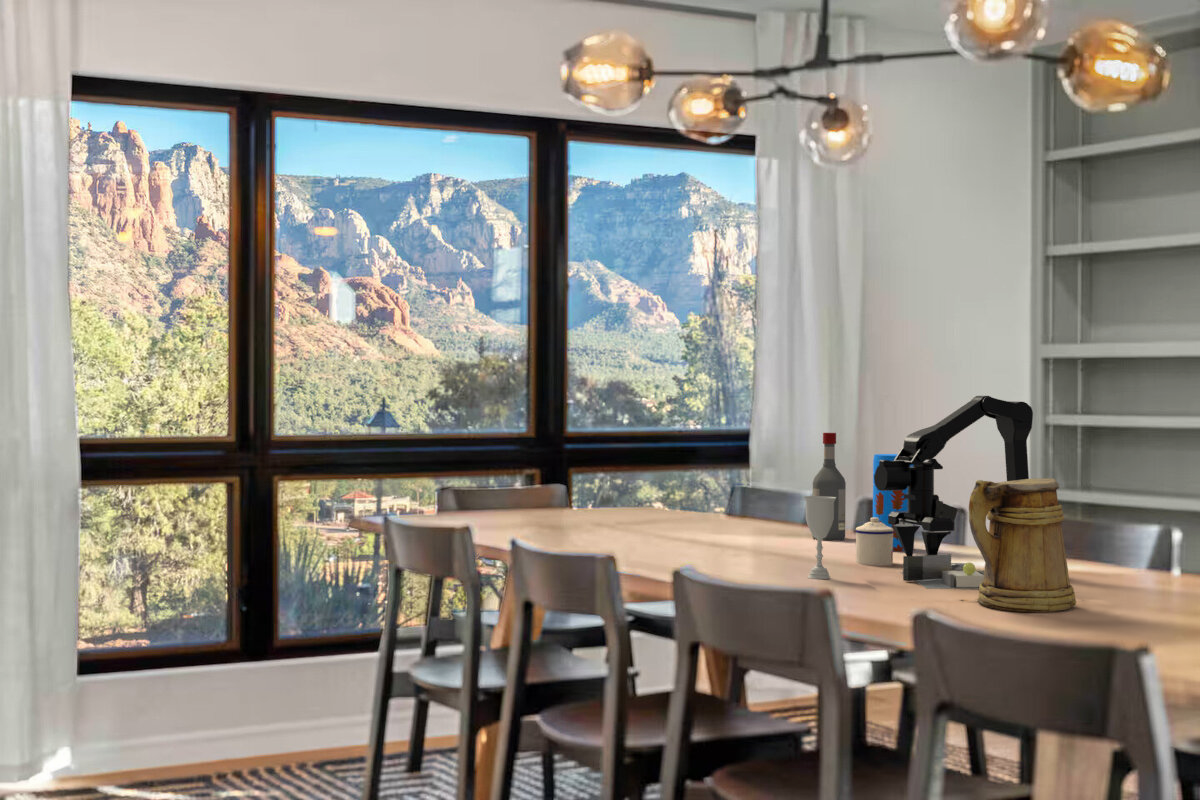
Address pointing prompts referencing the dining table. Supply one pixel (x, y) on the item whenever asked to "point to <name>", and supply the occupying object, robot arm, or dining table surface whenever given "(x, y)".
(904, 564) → the cam capstan
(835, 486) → the liquor
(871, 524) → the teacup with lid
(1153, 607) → the dining table surface
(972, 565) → the cam foot
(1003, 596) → the tankard
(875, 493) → the thermos
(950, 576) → the level stand
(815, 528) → the chalice
